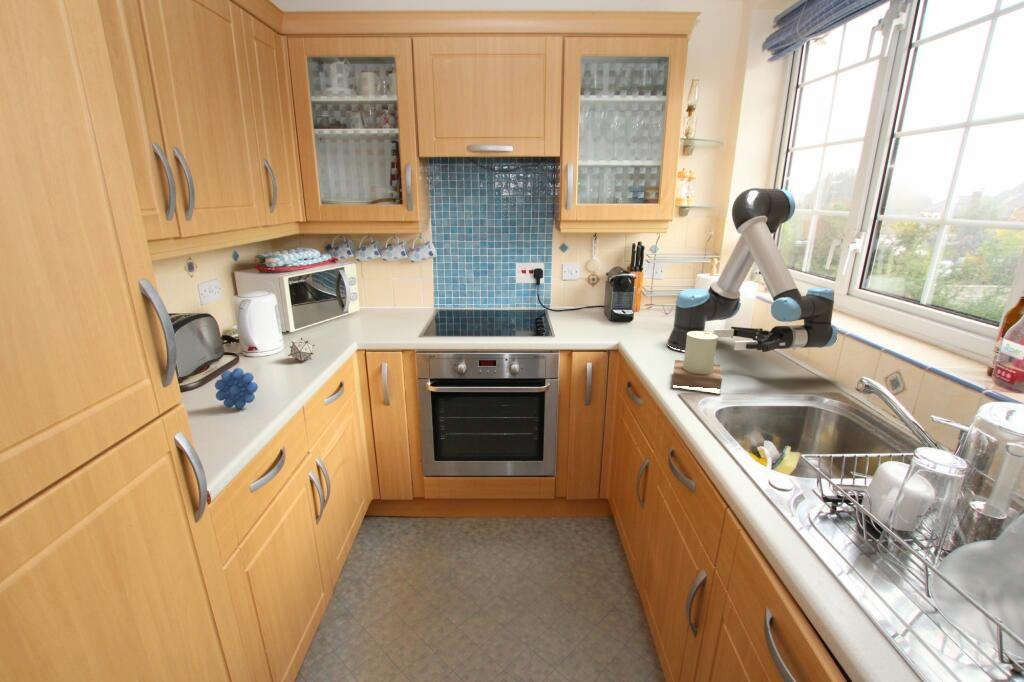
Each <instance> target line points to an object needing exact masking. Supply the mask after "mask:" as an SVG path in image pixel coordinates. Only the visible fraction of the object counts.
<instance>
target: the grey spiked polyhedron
mask: <svg viewBox="0 0 1024 682" xmlns="http://www.w3.org/2000/svg"><path fill="white" fill-rule="evenodd" d="M291 344H292V345H291V346H289V348H291V349H290V352H289V353H290V354H288V355H287V356H288V357H290V356H291V357H293V358H295V360H296V359H297V361H300V363H301V364H303V363H302V362H304V361H306V360H308V359H310V360H312V357H311V356H312V355H314V353H313V348H314V347H315V344H310V343H309V340H303V337H301V338H300V340H298V341H295V342H294V341H291Z"/></svg>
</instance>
